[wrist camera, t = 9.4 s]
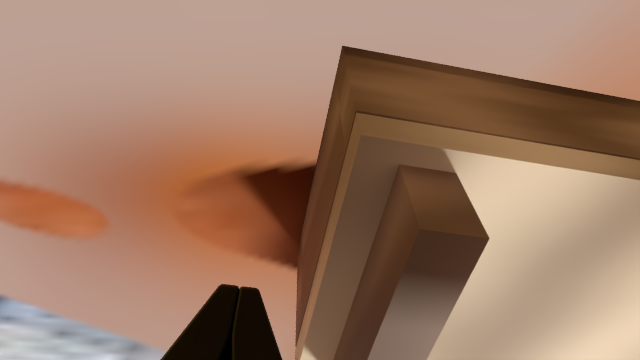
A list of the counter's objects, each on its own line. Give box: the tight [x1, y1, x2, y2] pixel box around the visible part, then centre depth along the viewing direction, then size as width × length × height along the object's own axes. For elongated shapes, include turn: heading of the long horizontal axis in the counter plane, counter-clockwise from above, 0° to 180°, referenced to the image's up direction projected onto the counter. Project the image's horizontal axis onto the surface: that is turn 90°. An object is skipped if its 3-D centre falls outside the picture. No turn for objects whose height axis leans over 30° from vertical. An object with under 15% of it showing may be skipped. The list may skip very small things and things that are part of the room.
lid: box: [295, 113, 640, 360], centre depth 11 cm, size 12×8×3 cm, turn 79°
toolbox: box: [296, 46, 640, 346], centre depth 14 cm, size 12×8×4 cm, turn 79°
